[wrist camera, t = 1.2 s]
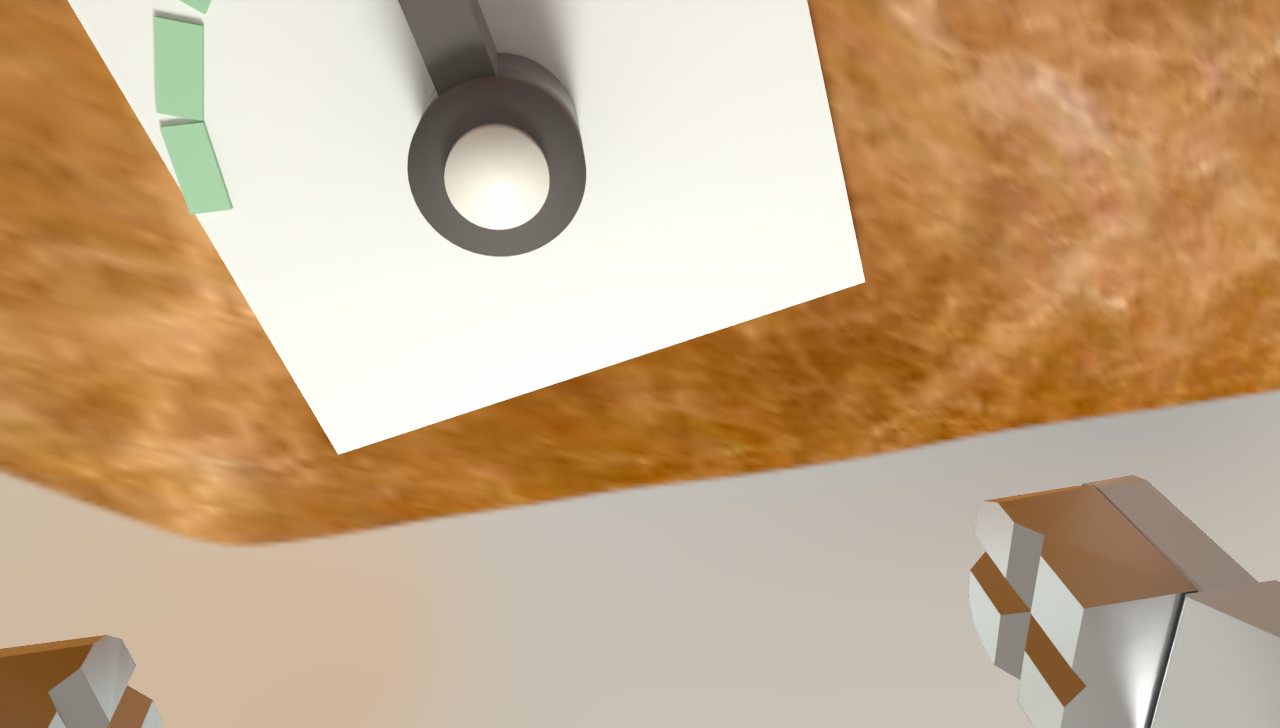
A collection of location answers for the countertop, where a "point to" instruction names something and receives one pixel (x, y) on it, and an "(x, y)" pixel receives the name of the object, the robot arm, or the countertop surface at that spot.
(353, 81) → the tuner board
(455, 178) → the dial
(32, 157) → the countertop surface
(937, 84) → the countertop surface
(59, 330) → the countertop surface
